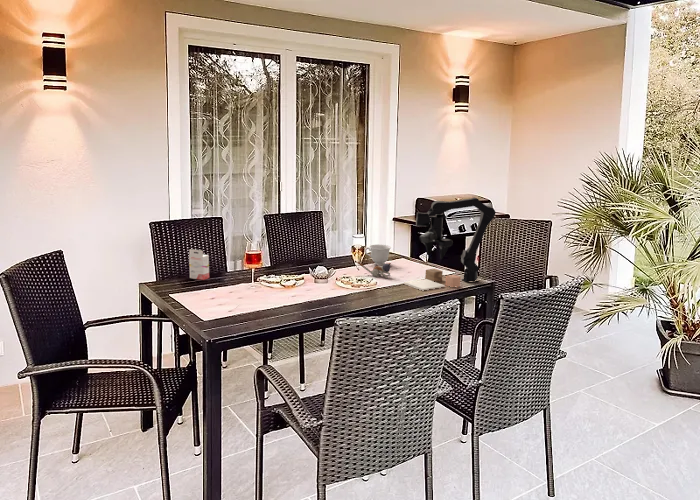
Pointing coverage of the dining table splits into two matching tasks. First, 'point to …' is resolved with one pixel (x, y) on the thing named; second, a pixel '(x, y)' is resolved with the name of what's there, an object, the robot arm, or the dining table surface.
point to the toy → (379, 270)
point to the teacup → (379, 253)
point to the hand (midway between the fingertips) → (435, 257)
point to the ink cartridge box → (198, 265)
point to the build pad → (424, 284)
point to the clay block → (452, 280)
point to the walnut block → (433, 274)
